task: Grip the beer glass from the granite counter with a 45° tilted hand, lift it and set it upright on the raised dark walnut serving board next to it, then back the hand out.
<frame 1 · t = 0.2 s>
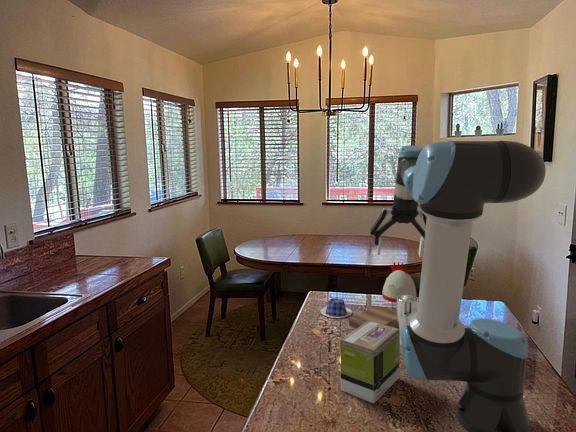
hand: (399, 254, 141), 27 cm above the countertop, tool pointing down, fingers open, 13 cm apart
walnut serving board: (376, 324, 150), on the countertop
tea box: (370, 385, 113), on the countertop
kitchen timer: (399, 297, 177), on the countertop
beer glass: (406, 342, 136), on the countertop
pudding: (336, 313, 161), on the countertop
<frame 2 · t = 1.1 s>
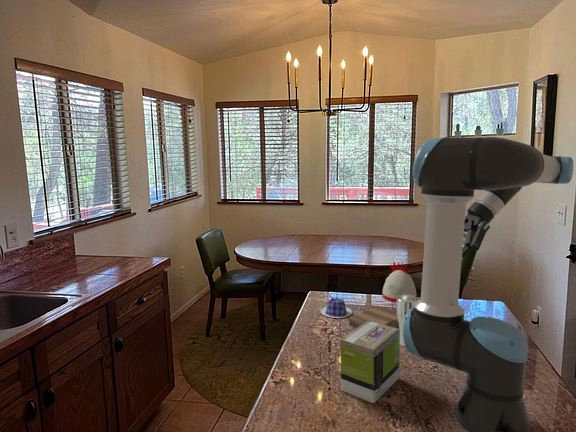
hand: (439, 257, 134), 28 cm above the countertop, tool tilted 45°, fingers open, 13 cm apart
nothing on the countertop moved.
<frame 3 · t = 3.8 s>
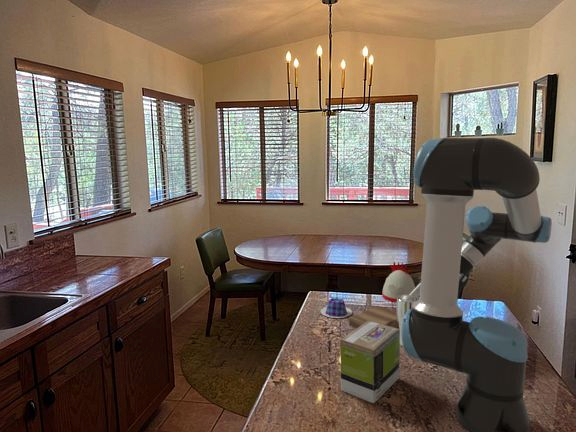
hand: (419, 307, 136), 11 cm above the countertop, tool tilted 45°, fingers open, 13 cm apart
nothing on the countertop moved.
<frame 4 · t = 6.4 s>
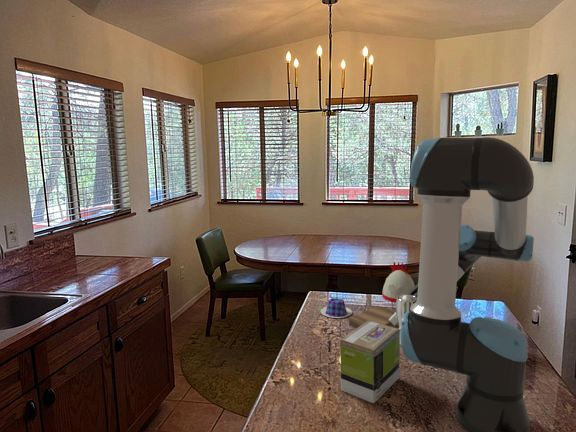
hand: (396, 327, 135), 5 cm above the countertop, tool tilted 45°, fingers closed on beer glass, 7 cm apart
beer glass: (406, 342, 136), on the countertop, touching gripper
everything else where it was.
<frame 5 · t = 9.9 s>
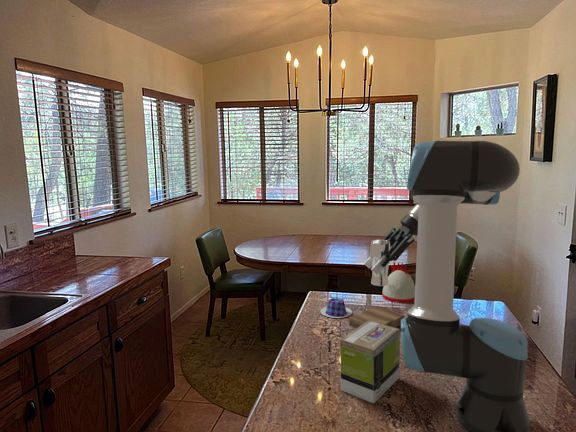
hand: (370, 268, 146), 21 cm above the countertop, tool tilted 45°, fingers closed on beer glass, 7 cm apart
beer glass: (379, 283, 147), point 15 cm above the countertop, touching gripper
everything else where it was.
when the fingers open (10 cm above the countertop, at t = 13.3 s): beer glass drops 1 cm, resting on walnut serving board.
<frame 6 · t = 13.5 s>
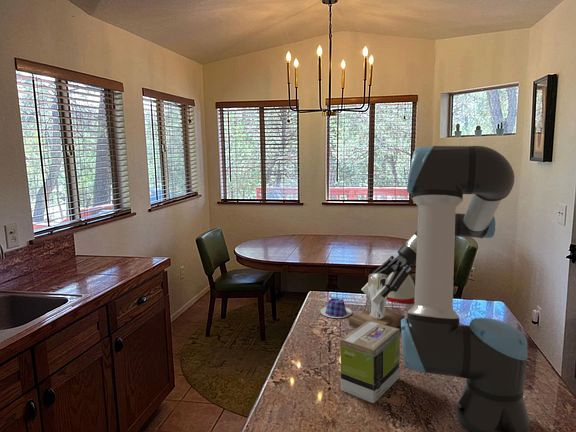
hand: (369, 297, 148), 10 cm above the countertop, tool tilted 45°, fingers open, 9 cm apart
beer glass: (377, 317, 149), point 3 cm above the countertop, touching walnut serving board
everything else where it was.
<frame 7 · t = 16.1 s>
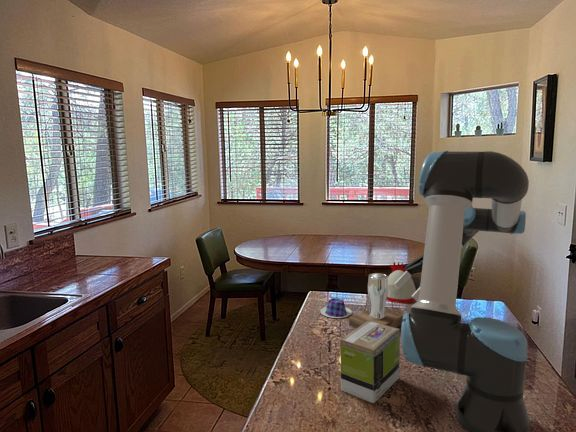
hand: (405, 292, 150), 11 cm above the countertop, tool tilted 45°, fingers open, 13 cm apart
nothing on the countertop moved.
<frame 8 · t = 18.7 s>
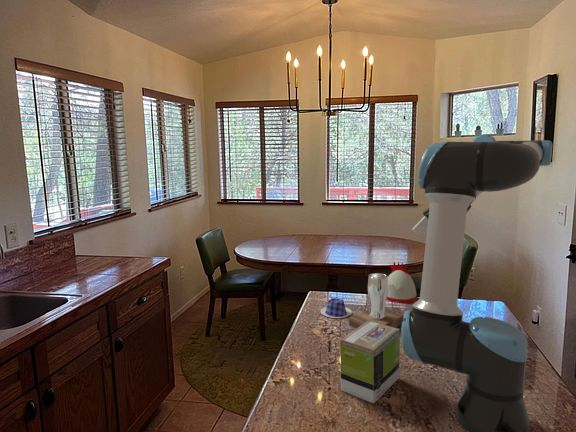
hand: (424, 236, 141), 33 cm above the countertop, tool tilted 45°, fingers open, 13 cm apart
at the end: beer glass inside the target area on the walnut serving board (0.2 cm from its centre), point 2.8 cm above the walnut serving board's base; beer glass tilted 0°; the gripper is holding nothing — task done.
